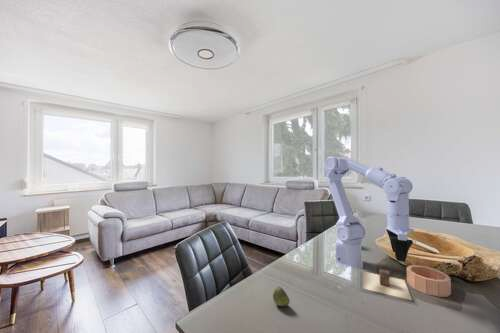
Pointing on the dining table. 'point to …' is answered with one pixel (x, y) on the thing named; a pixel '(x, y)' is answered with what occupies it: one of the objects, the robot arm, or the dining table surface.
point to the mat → (387, 296)
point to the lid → (386, 285)
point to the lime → (280, 297)
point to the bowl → (429, 280)
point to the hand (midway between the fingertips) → (398, 256)
